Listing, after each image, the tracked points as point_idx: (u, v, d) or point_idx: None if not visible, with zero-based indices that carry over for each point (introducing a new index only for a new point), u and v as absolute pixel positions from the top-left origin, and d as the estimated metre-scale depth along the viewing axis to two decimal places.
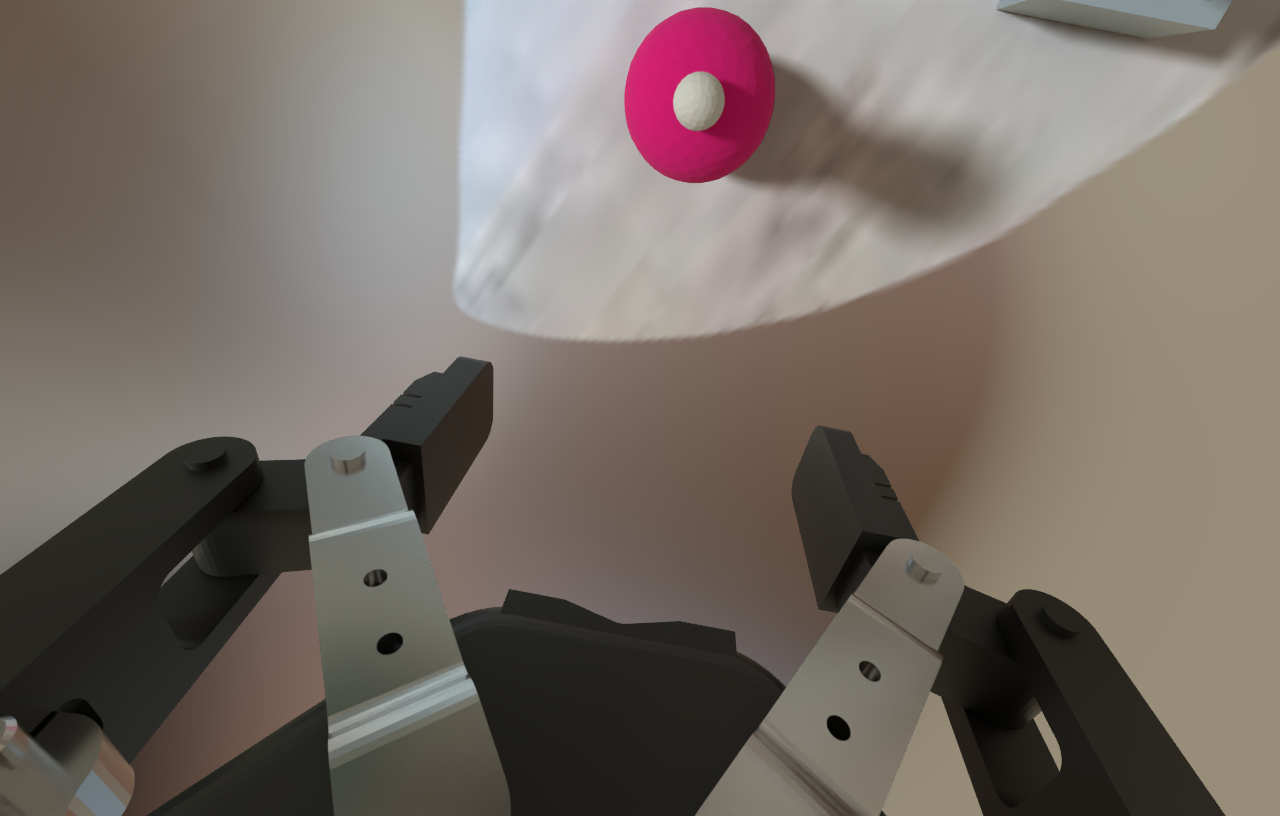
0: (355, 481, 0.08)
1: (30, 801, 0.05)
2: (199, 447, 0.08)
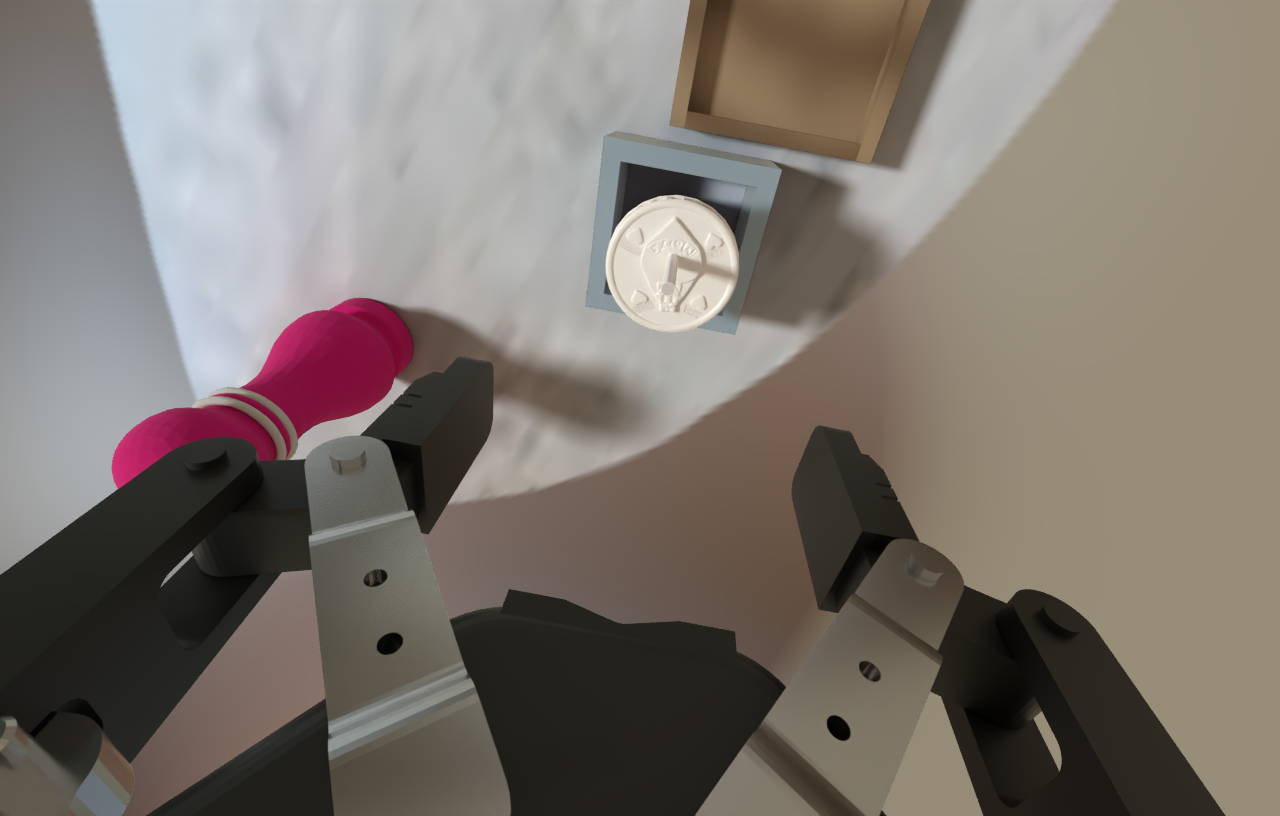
0: (355, 481, 0.08)
1: (30, 801, 0.05)
2: (199, 447, 0.08)
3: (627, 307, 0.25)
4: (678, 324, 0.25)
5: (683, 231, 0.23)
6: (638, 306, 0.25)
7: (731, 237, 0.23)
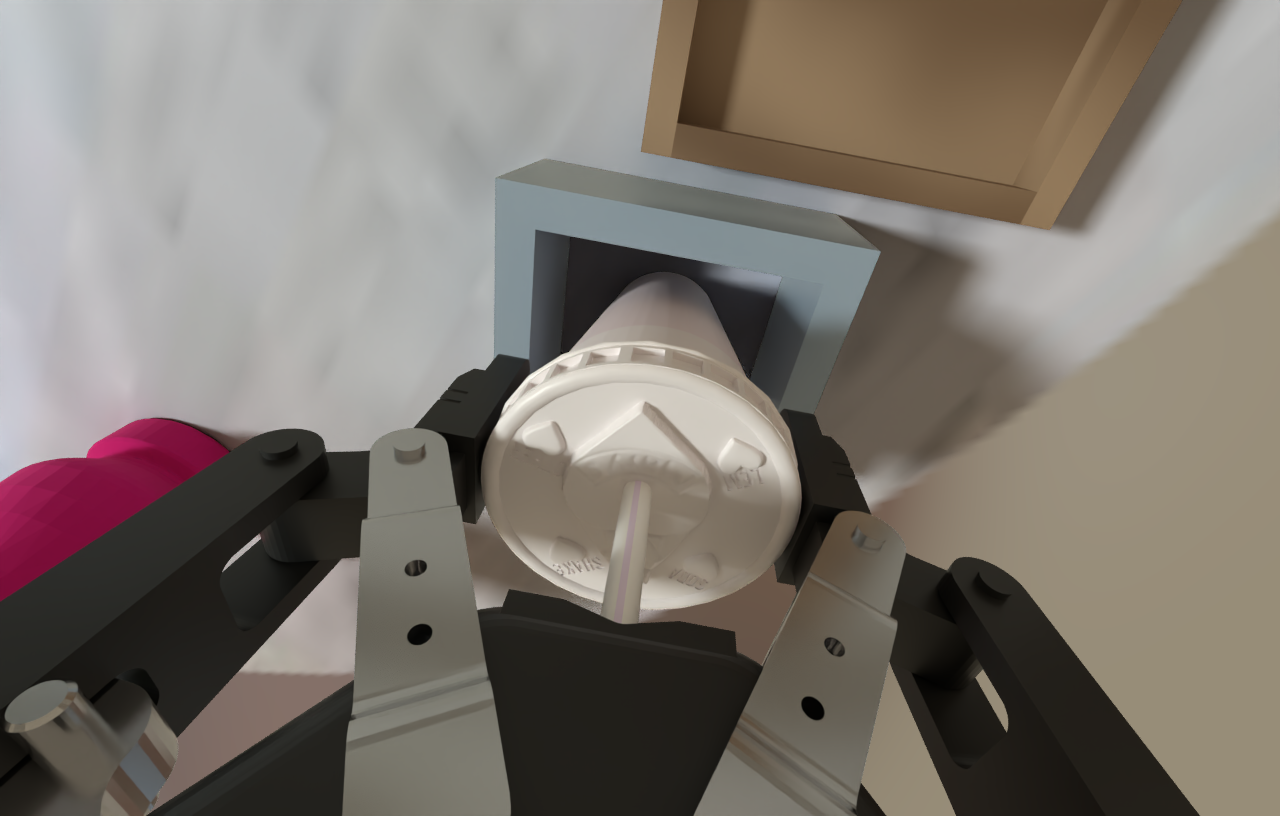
0: (412, 472, 0.08)
1: (81, 765, 0.05)
2: (274, 437, 0.08)
3: (542, 564, 0.11)
4: (657, 598, 0.11)
5: (663, 436, 0.09)
6: (567, 564, 0.11)
7: (786, 450, 0.09)
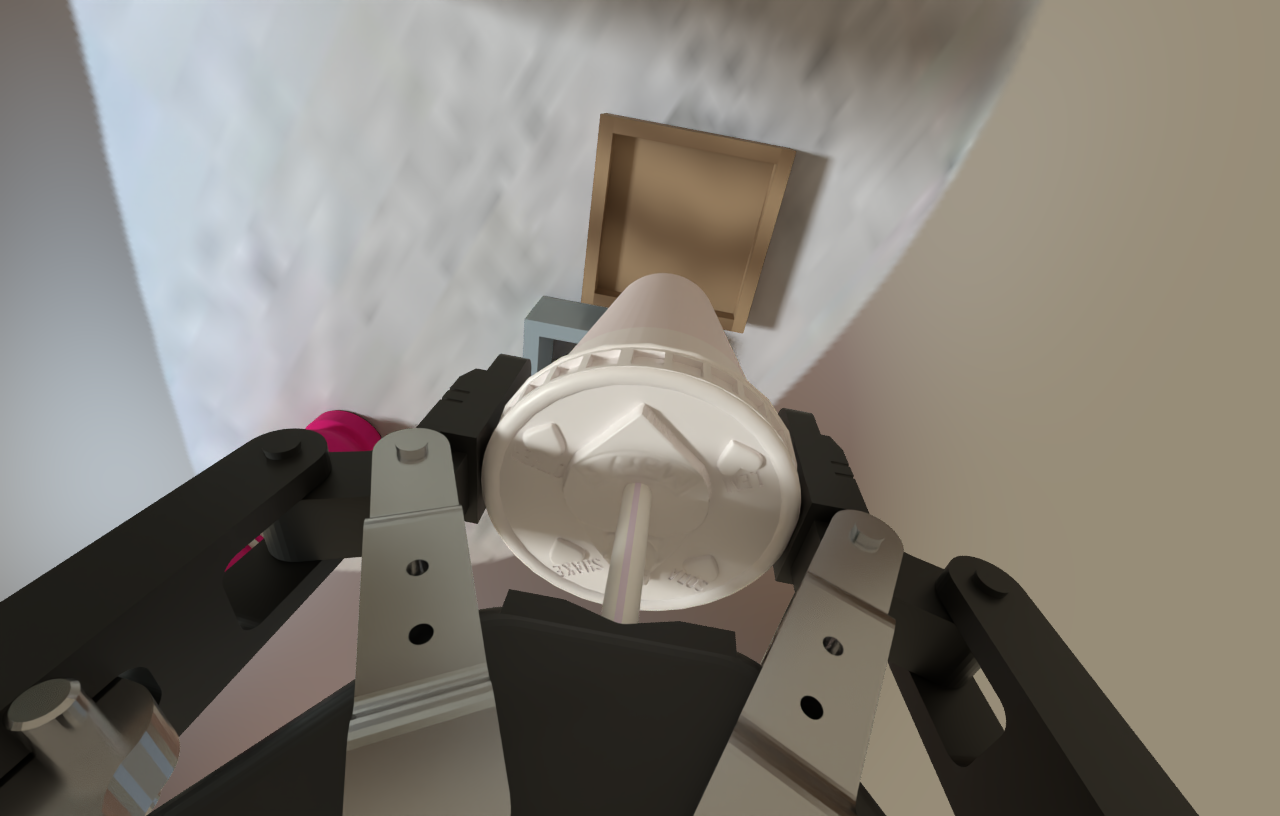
0: (414, 472, 0.08)
1: (83, 763, 0.05)
2: (277, 437, 0.08)
3: (542, 565, 0.11)
4: (656, 599, 0.11)
5: (663, 438, 0.09)
6: (566, 565, 0.11)
7: (785, 452, 0.09)
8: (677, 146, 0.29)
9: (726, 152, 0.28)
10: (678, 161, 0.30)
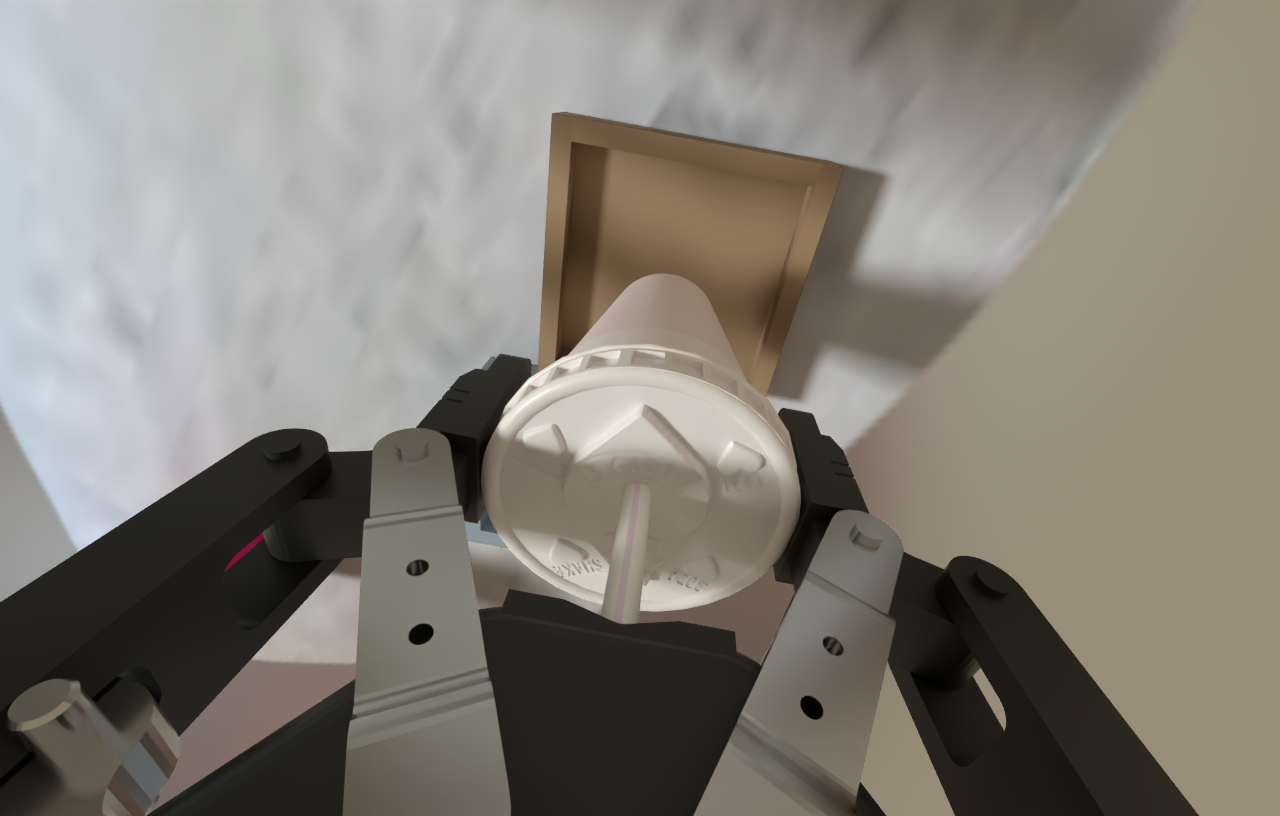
0: (414, 472, 0.08)
1: (83, 763, 0.05)
2: (277, 437, 0.08)
3: (542, 566, 0.11)
4: (656, 599, 0.11)
5: (663, 439, 0.09)
6: (566, 566, 0.11)
7: (785, 453, 0.09)
8: (667, 160, 0.20)
9: (739, 169, 0.19)
10: (669, 181, 0.21)
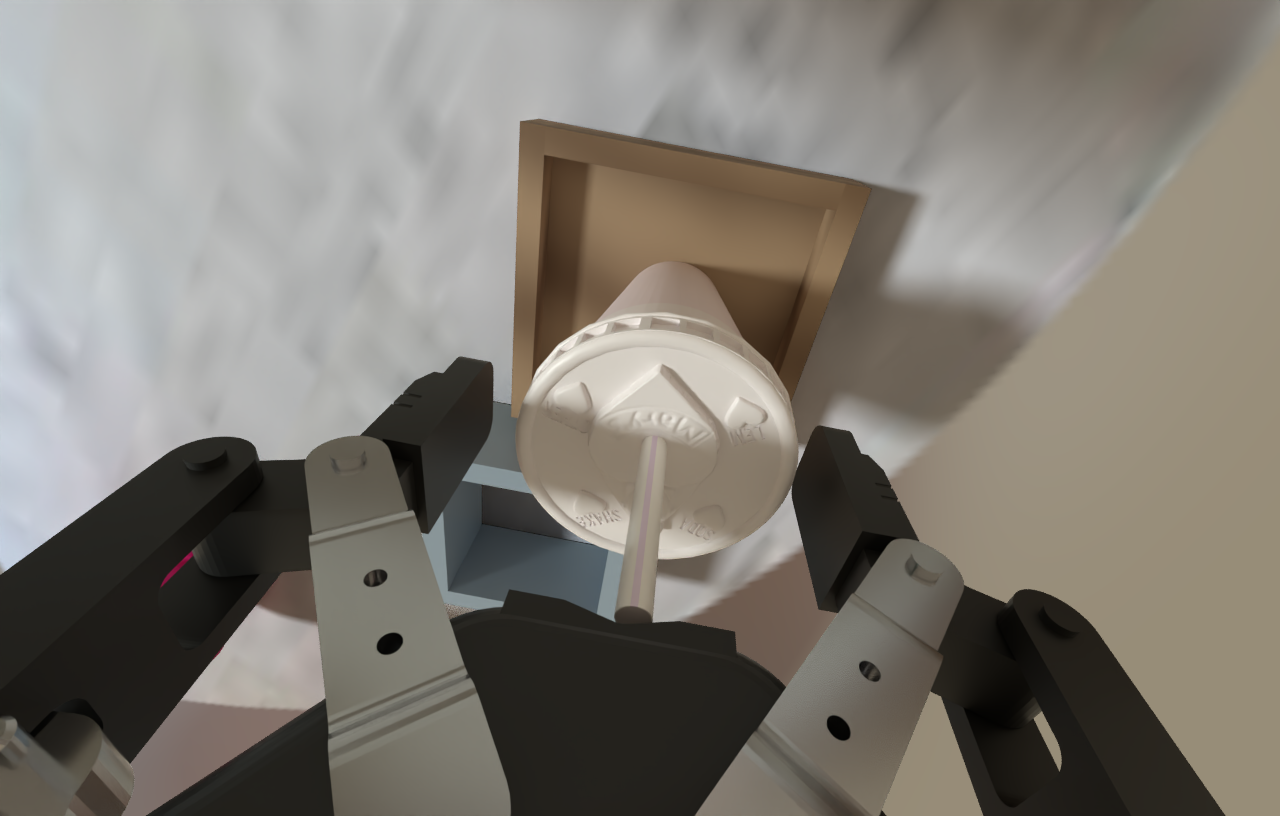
0: (355, 481, 0.08)
1: (30, 801, 0.05)
2: (199, 447, 0.08)
3: (566, 516, 0.12)
4: (669, 548, 0.13)
5: (678, 395, 0.10)
6: (588, 516, 0.12)
7: (785, 408, 0.10)
8: (660, 176, 0.17)
9: (745, 189, 0.16)
10: (661, 202, 0.17)
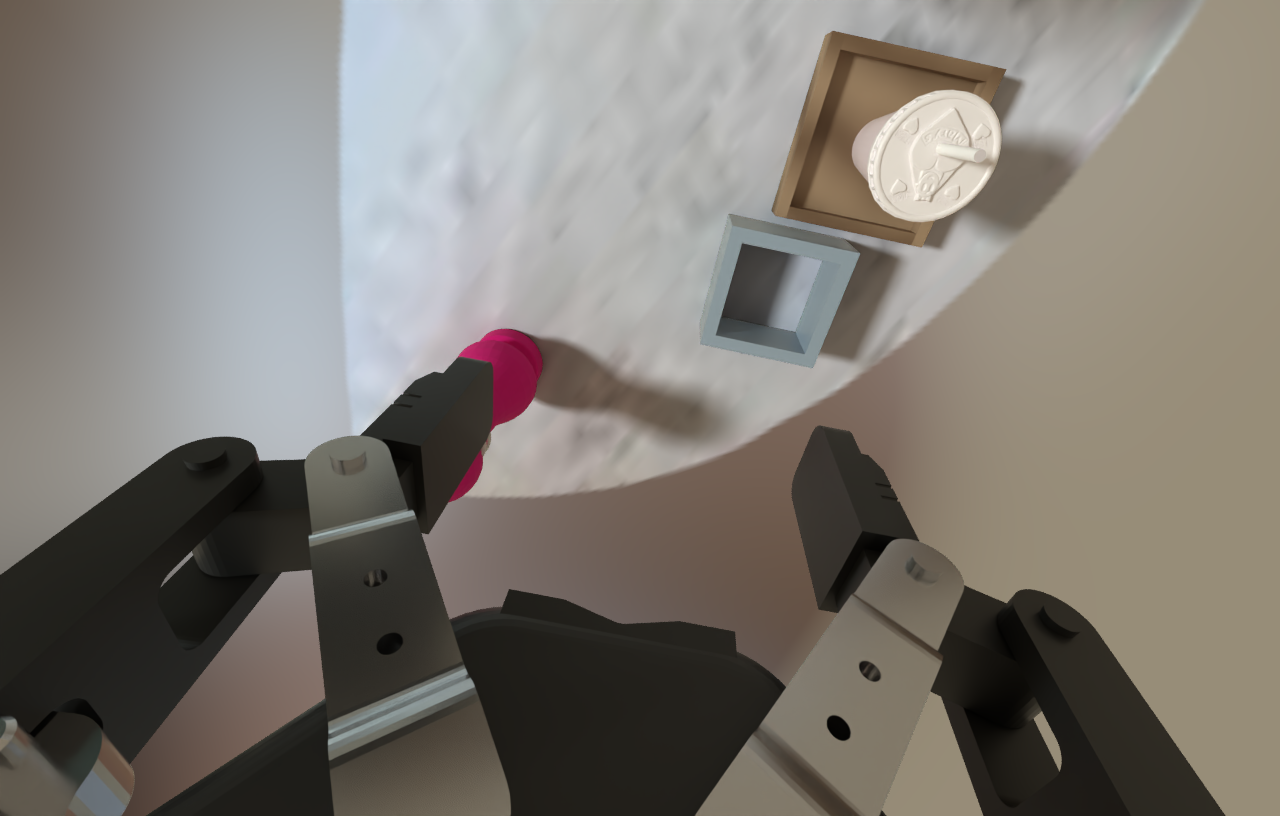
0: (355, 481, 0.08)
1: (30, 801, 0.05)
2: (198, 447, 0.08)
3: (884, 196, 0.28)
4: (928, 214, 0.28)
5: (958, 121, 0.26)
6: (895, 196, 0.28)
7: (999, 128, 0.26)
8: (890, 66, 0.33)
9: (941, 69, 0.31)
10: (888, 80, 0.33)
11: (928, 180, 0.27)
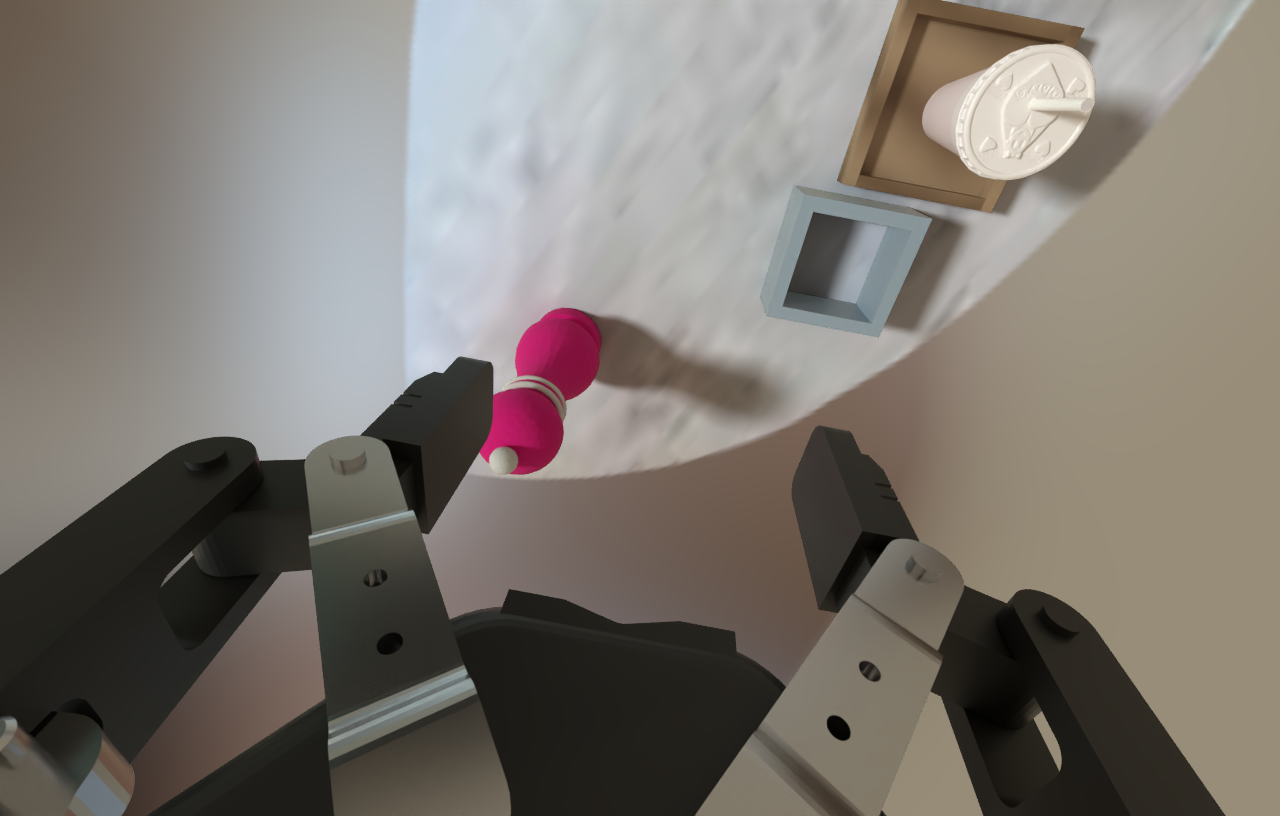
0: (355, 481, 0.08)
1: (30, 801, 0.05)
2: (199, 447, 0.08)
3: (973, 155, 0.28)
4: (1016, 171, 0.28)
5: (1053, 75, 0.26)
6: (984, 154, 0.28)
7: (1094, 81, 0.26)
8: (964, 29, 0.33)
9: (1019, 30, 0.32)
10: (962, 44, 0.33)
11: (1020, 137, 0.27)
